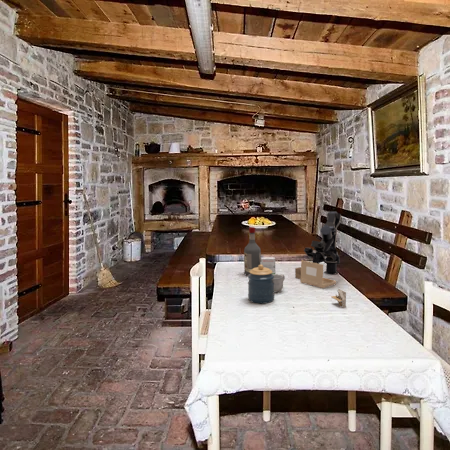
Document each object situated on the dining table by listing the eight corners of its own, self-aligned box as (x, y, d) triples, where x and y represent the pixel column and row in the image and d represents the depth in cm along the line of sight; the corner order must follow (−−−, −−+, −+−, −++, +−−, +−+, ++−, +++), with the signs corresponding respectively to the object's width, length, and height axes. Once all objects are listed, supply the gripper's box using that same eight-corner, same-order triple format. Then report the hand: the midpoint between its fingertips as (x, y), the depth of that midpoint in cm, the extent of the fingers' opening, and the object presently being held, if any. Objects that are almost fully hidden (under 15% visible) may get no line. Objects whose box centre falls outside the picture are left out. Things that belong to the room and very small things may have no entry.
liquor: (256, 272, 221) (255, 226, 217) (262, 275, 212) (261, 228, 209) (243, 273, 218) (242, 227, 215) (248, 277, 209) (248, 228, 206)
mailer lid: (301, 260, 194) (301, 260, 194) (323, 264, 183) (322, 264, 182) (301, 278, 195) (300, 278, 195) (322, 283, 183) (321, 284, 183)
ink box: (275, 275, 212) (274, 257, 210) (275, 277, 207) (275, 258, 205) (261, 275, 212) (260, 257, 211) (261, 277, 207) (261, 258, 206)
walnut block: (299, 276, 208) (299, 267, 207) (304, 278, 204) (304, 268, 204) (295, 278, 205) (295, 268, 204) (300, 279, 202) (300, 269, 201)
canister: (256, 305, 160) (255, 268, 158) (243, 297, 172) (243, 263, 170) (279, 301, 165) (279, 265, 163) (265, 293, 177) (265, 260, 175)
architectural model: (339, 309, 154) (339, 293, 153) (330, 304, 161) (331, 288, 160) (346, 308, 155) (346, 292, 154) (337, 303, 162) (337, 288, 161)
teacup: (270, 295, 175) (270, 279, 174) (259, 289, 184) (258, 275, 183) (292, 290, 181) (292, 276, 180) (279, 285, 191) (279, 271, 190)
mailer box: (313, 278, 203) (313, 275, 202) (336, 284, 190) (336, 280, 190) (300, 282, 196) (300, 279, 195) (322, 288, 183) (322, 284, 183)
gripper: (306, 233, 198) (293, 254, 192) (333, 237, 183) (320, 260, 177) (314, 245, 203) (302, 266, 198) (341, 249, 188) (329, 272, 183)
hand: (312, 266), depth 189 cm, fingers closed
